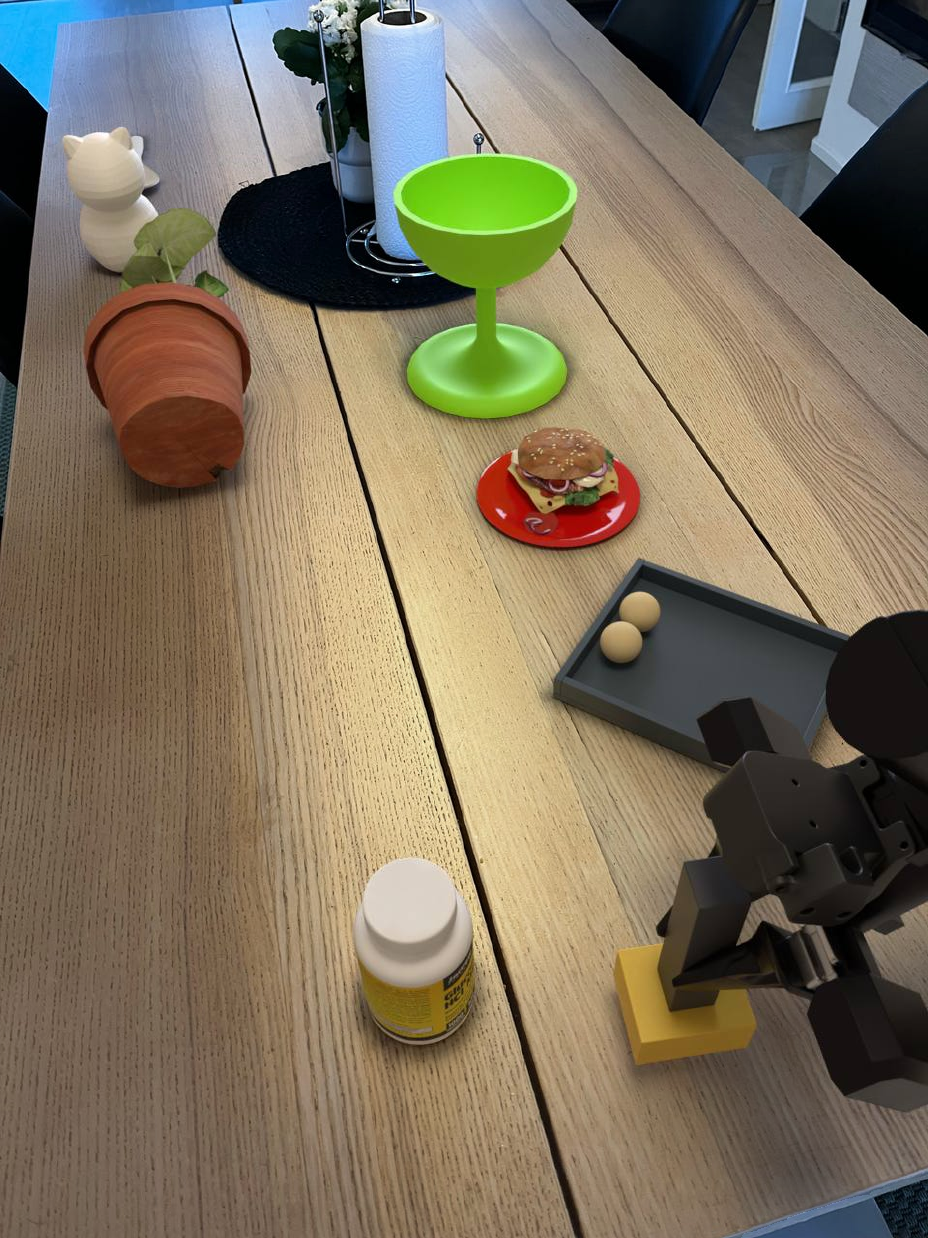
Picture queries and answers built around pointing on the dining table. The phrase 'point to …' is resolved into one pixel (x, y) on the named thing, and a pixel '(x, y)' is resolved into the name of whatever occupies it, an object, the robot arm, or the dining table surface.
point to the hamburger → (558, 490)
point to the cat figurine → (108, 194)
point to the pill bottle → (415, 951)
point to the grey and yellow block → (694, 933)
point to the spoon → (150, 176)
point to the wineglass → (486, 276)
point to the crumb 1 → (640, 611)
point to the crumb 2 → (621, 642)
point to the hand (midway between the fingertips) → (668, 959)
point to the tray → (700, 662)
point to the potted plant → (171, 359)
